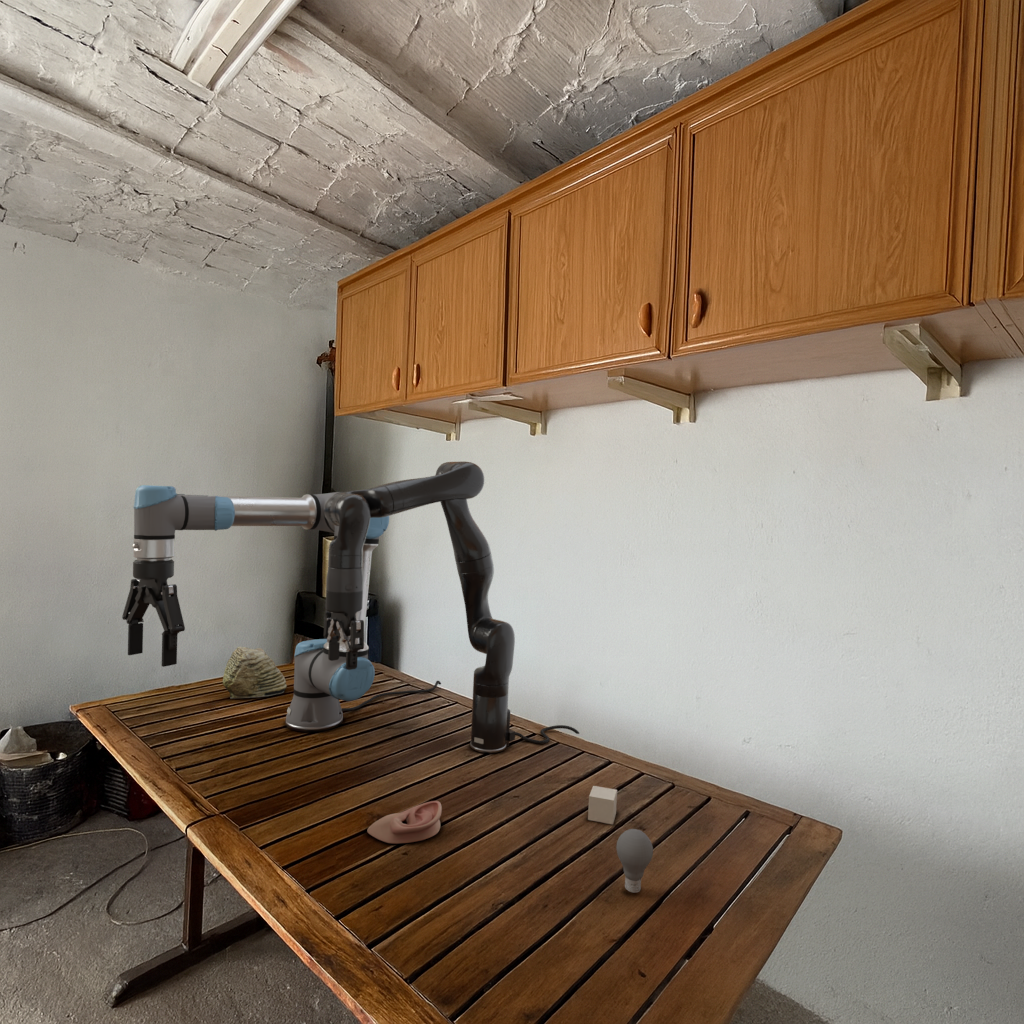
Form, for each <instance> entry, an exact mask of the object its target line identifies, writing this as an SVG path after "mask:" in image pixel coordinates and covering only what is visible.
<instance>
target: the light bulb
mask: <svg viewBox="0 0 1024 1024" xmlns="http://www.w3.org/2000/svg"><path fill="white" fill-rule="evenodd" d="M615 849H616V854H617V857H618V859H619V861H620V863H621V865H622V867H623V873H624V874H623V875H624V876H625V878H624V888H625V890H627V891H628V892H630V893H634V894H635V893H639V892H640V891H641V889H642V887H641V886H642V879H643V877H644V875H645V871H646V868H647V867H648V866H649V864H650V863H651V861H652V859H653V855H654V847H653V843H652V841H651V838H649V836H648V835H647V834H646V833H645V832H643V831H642V830H641V829H636V828H629V829H627V830H625V831H623V832H622V833H621V834H620V835H619V837H618V839H617V841H616V847H615Z"/></svg>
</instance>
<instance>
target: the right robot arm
mask: <svg viewBox="0 0 1024 1024" xmlns="http://www.w3.org/2000/svg"><path fill="white" fill-rule="evenodd" d="M484 487H485V475H484V472H483V470H482V468H481V466H479V465H478V464H476V463H474V462H470V461H447V462H443V463H441V464H440V465H439V466H438V467H437V469H436V472H435V475H431V476H425V477H418V478H410V479H403V480H397V481H392V482H388V483H387V482H386V483H383V484H379V485H377V486H374V487H370V488H364V489H356V490H349V491H342V492H343V493H339V494H336V495H333V496H332V497H330V498H329V499H328V500H327V502H326V504H325V506H324V515H325V517H326V519H327V520H328V521H329V522H330V523H332V524H333V525H336V526H339V530H338V535H337V538H336V539H334V538H333V539H332V540H331V541H330V542H329V546H328V559H327V560H328V561H327V572H326V580H325V582H326V585H325V611H324V619H323V620H324V622H323V639H327V642H328V643H329V651H328V659H329V660H330V661H333V660H338V659H339V648H340V643H339V642H338V641H340V638H341V640H342V642H344V643H345V646H346V650H347V652H346V669H348V670H351V669H356V668H357V656H358V651H359V650H361V649H364V642H365V630H364V621H363V620H358V621H357V620H356V613H357V612H358V611H361V610H362V602H363V570H362V563H363V545H364V542H365V539H366V535H367V531H368V528H369V523H370V518H380V517H386V516H389V517H390V516H393V515H397V514H400V513H403V512H407V511H411V510H414V509H418V508H421V507H424V506H427V505H431V504H435V503H440V506H441V508H442V511H443V514H444V517H445V520H446V525H447V529H448V533H449V538H450V541H451V546H452V549H453V555H454V559H455V560H454V561H455V565H456V570H457V575H458V577H459V582H460V587H461V590H462V591H461V592H462V598H463V602H464V608H465V616H466V626H467V633H468V638H469V643H470V645H471V647H472V648H473V649H474V650H475V651H477V652H478V653H482V654H484V655H485V664H484V665H481V666H478V667H477V668H475V669H474V671H473V682H472V705H471V707H472V708H471V726H470V727H471V729H470V731H471V732H470V743H469V746H470V748H471V749H472V750H473V751H476V752H479V753H483V754H496V753H501V752H503V751H505V750H506V749H507V747H510V742H513V741H515V740H516V736H517V737H519V738H520V739H522V740H523V741H524V742H525V741H526V742H528V743H531V744H536V745H544V744H548V743H549V742H550V737H549V736H548V735H547V734H546V733H545V732H547V731H551V730H556V729H557V730H558V729H565V730H570V731H572V732H573V733H575V734H576V735H580V732H579V730H577V729H576V728H574V727H572V726H570V725H562V724H560V725H559V724H558V725H551V726H546V727H544V728H542V729H541V730H540V731H539V733H540V734H541V736H542V737H543V738H544V739H543V740H542V739H540V740H537V739H534V738H533V739H532V738H530V737H526V736H525V735H524V734H522V733H520V732H516V731H515V730H513V729H511V710H510V709H509V687H510V675H511V673H512V670H513V666H514V656H515V655H514V654H515V646H516V645H515V643H516V636H515V630H514V628H513V626H512V625H511V624H510V622H507V621H504V620H500V619H496V618H493V616H492V612H491V610H490V603H489V592H490V589H491V586H492V583H493V579H494V576H495V575H494V574H495V567H494V560H493V556H492V551H491V547H490V544H489V541H488V540H487V538H486V536H485V534H484V533H483V531H482V530H481V528H480V527H479V526H478V525H477V523H476V521H475V520H474V518H473V516H472V513H471V511H470V508H469V504H468V503H469V502H468V500H471V499H473V498H476V497H477V496H478V495H479V494H480V493H481V492H482V490H483V488H484ZM358 638H359V642H358ZM349 642H350V643H349Z"/></svg>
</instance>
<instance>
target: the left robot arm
mask: <svg viewBox="0 0 1024 1024" xmlns="http://www.w3.org/2000/svg"><path fill="white" fill-rule="evenodd" d="M134 492H135V493H134V503H133V523H134V524H133V543H132V545H131V547H132V549H133V557H134V558H135V560H133V562H132V577H133V578H132V579H131V580H130V585H129V592H128V596H127V599H126V602H125V606H124V609H123V613H122V617H121V618H122V620H123V621H126V624H127V625H128V626H127V627H128V628H127V630H128V631H127V656H134V655H140V654H143V652H144V649H143V648H144V647H143V646H144V622H145V621H144V616H145V614H146V612H147V610H148V609H149V606H150V605H151V607H152V608H154V609H155V611H156V613H157V616H158V618H159V621H160V623H161V626H162V629H163V632H161V667H163V668H164V667H165V668H166V667H170V666H174V665H177V663H178V635H179V634H180V633H181V632H185V630H186V627H185V626H186V625H185V623H184V617H183V614H182V610H181V606H180V602H179V596H178V586H177V584H168V580H169V579H171V578H172V577H174V575H175V561H174V559H172V558H174V557H175V548H176V547H175V546H176V545H175V543H176V531H215V532H216V531H221V530H223V531H224V530H229V529H230V528H232V527H301V528H302V529H303V530H307V531H309V530H310V531H311V530H312V531H322V532H327V533H332V534H333V540H334V539H336V538H337V535H338V530H339V526H336V525H333V524H332V523H330V522H329V521H328V520H327V519H326V517H325V515H324V506H325V504H326V502H327V500H328V499H329V498H330V497H332V496H333V495H336V494H339V493H343V492H344V491H336V492H335V491H333V492H328V493H317V494H316V493H315V494H314V493H313V494H310V493H306V494H303V495H302V496H301V497H290V496H289V497H285V496H284V497H282V496H252V495H251V496H250V495H249V496H248V495H247V496H246V495H245V496H244V495H214V494H213V495H209V494H208V495H204V494H184V493H177V489H176V487H174V486H172V485H147V484H146V485H145V484H142V485H139V486H138V487H137V488H136V489H135V491H134ZM389 524H390V516H386V517H380V518H370V523H369V528H368V531H367V535H366V539H365V542H364V545H363V563H362V570H363V602H362V610H361V611H358V612H357V613H356V620H357V621H358V620H363V621H364V631H365V629H366V618H367V608H368V596H369V588H370V587H369V585H370V578H371V577H370V576H371V568H372V567H371V566H372V555H373V551H374V550H375V549H376V548H377V547H378V546H379V543H380V537H381V536H383V535H384V532H386V531H387V529H388V527H389ZM338 642H339V643H340V648H339V659H338V660H333V661H330V660H329V659H328V651H329V643H328V642H327V638H319V639H308V640H303V641H300V642H299V643H298V642H297V644H296V646H295V650H294V655H293V657H294V672H293V695H292V696H293V697H292V699H291V702H290V704H289V706H288V707H287V710H286V712H287V713H286V715H285V726H286V728H287V729H289V730H291V731H294V732H295V731H296V732H301V733H316V732H325V731H329V730H332V729H335V728H337V727H339V726H340V725H342V723H343V722H344V714H343V712H352V711H355V710H358V709H360V708H362V707H364V706H365V705H367V704H369V703H371V702H372V701H374V700H376V699H377V698H381V697H384V696H392V695H405V694H422V693H429V692H432V691H434V690H435V689H437V688H438V685H442V682H441V681H440V680H436V681H435V684H434V685H433V687H431V688H427V689H414V690H413V689H411V690H410V689H409V690H400V691H399V690H398V691H389V692H382V693H379V694H376V695H374V696H372V697H370V698H369V699H367V700H365V701H363V702H362V703H360V704H358V705H355V706H353V707H343V708H342V706H341V702H340V700H341V701H344V702H353V701H357V700H358V699H360V698H362V697H363V696H364V695H365V694H366V693H367V692H368V691H369V690H370V689H371V688H372V685H373V683H374V681H375V674H376V671H375V666H374V665H373V664H372V662H371V660H370V659H369V649H370V647H369V645H368V644H367V643H366V641H364V649H361V650H359V651H358V656H357V668H356V669H351V670H348V669H346V652H347V650H346V646H345V643H344V642H342V640H341V638H340V641H338ZM358 642H359V638H358ZM349 643H350V642H349Z"/></svg>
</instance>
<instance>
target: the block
mask: <svg viewBox="0 0 1024 1024" xmlns="http://www.w3.org/2000/svg"><path fill="white" fill-rule="evenodd" d="M617 803H618V789H616V788H615V789H614V788H609V787H603V786H598V785H593V786H592V787H591V790H590V793H589V794H588V807H587V808H588V809H587V810H588V811H587V820H588V821H593V822H598V823H603V824H608V825H614V822H615V818H616V816H617V815H616V814H617Z"/></svg>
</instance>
